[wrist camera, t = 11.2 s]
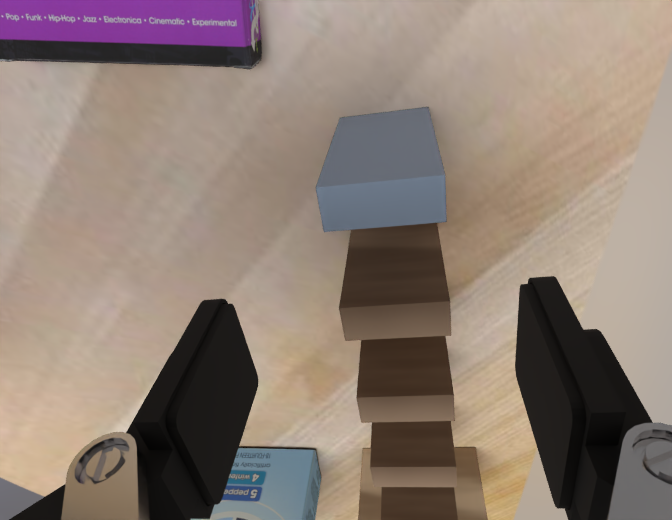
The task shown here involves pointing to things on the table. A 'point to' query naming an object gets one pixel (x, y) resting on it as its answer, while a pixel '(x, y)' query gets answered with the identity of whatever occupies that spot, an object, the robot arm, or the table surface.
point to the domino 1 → (382, 172)
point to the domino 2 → (395, 284)
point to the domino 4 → (413, 454)
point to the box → (132, 32)
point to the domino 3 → (405, 380)
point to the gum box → (271, 486)
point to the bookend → (466, 492)
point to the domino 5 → (418, 503)
